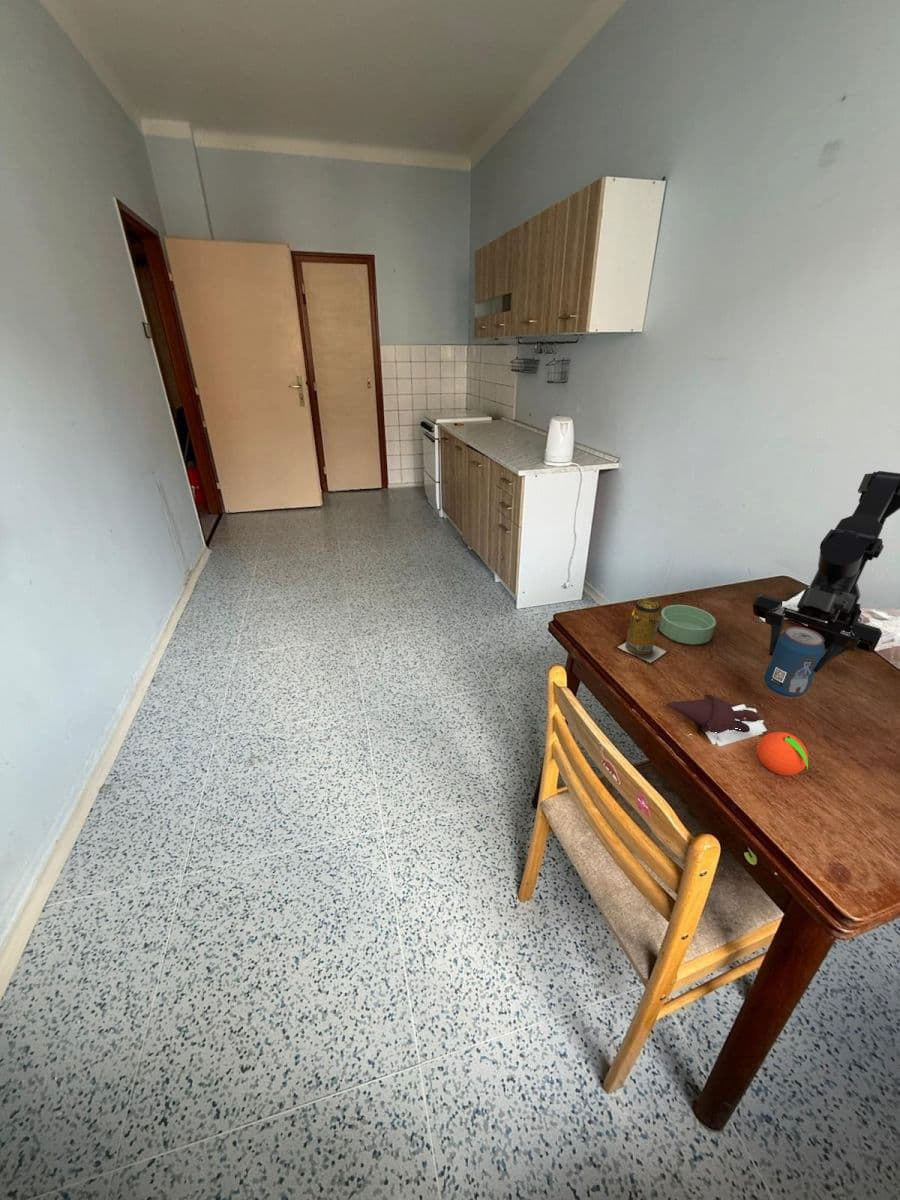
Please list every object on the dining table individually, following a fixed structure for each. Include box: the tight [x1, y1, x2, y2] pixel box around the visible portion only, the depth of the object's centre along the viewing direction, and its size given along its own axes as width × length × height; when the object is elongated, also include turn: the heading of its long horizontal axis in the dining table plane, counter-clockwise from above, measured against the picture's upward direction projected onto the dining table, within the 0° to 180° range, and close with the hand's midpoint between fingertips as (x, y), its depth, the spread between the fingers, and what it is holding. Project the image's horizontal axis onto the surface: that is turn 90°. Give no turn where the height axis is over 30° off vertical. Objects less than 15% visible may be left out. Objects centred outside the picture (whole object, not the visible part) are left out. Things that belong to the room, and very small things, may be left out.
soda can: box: [763, 626, 826, 699], centre depth 86 cm, size 7×7×12 cm
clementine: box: [756, 731, 809, 776], centre depth 78 cm, size 8×7×7 cm
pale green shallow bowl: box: [658, 604, 717, 645], centre depth 117 cm, size 12×12×4 cm
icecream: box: [666, 694, 761, 734], centre depth 87 cm, size 7×7×15 cm
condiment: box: [617, 598, 668, 664], centre depth 108 cm, size 7×8×12 cm
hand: (792, 662), depth 85 cm, fingers closed on soda can, 7 cm apart
